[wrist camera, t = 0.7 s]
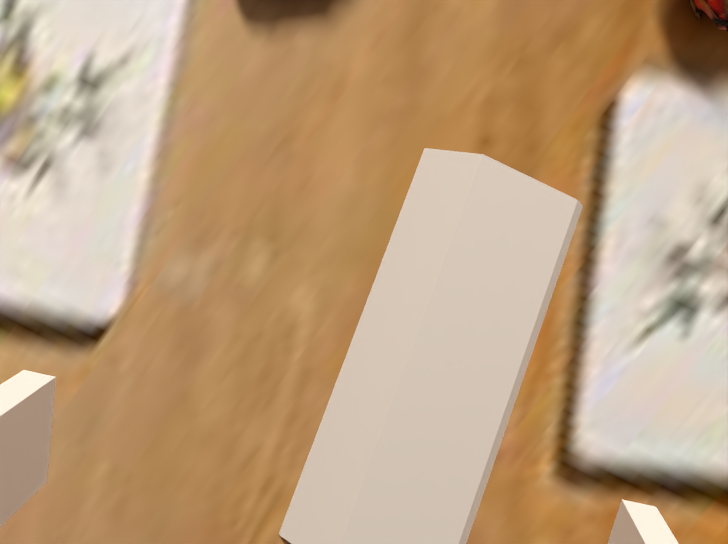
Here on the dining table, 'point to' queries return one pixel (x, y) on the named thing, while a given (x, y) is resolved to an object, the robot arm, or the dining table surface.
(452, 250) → the crown molding
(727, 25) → the dragon fruit
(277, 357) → the dining table surface
